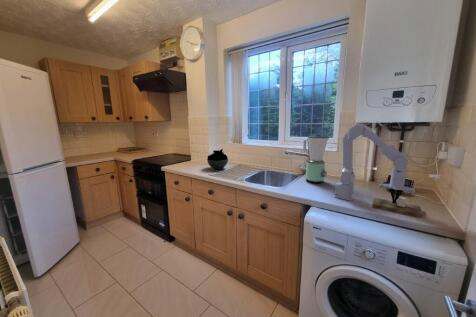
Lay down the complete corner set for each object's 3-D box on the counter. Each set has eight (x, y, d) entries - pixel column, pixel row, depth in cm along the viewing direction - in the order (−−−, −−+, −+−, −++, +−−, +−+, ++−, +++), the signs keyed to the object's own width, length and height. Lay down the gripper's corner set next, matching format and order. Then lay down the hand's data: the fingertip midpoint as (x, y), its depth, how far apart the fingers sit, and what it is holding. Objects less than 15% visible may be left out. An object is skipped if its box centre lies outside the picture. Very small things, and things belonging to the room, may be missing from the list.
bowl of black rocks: (212, 172, 178) (211, 152, 174) (204, 168, 195) (203, 149, 191) (231, 169, 187) (231, 150, 183) (223, 165, 204) (222, 147, 201)
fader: (397, 206, 102) (398, 199, 102) (397, 203, 106) (398, 196, 106) (404, 207, 101) (406, 201, 100) (404, 204, 104) (405, 198, 104)
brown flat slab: (372, 207, 107) (372, 203, 106) (373, 200, 115) (374, 197, 115) (422, 218, 95) (422, 214, 94) (419, 210, 103) (420, 206, 103)
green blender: (329, 181, 150) (333, 135, 143) (321, 186, 141) (325, 136, 134) (305, 176, 163) (308, 134, 157) (297, 180, 154) (299, 135, 147)
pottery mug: (401, 191, 132) (407, 183, 126) (400, 201, 126) (406, 192, 121) (380, 183, 137) (385, 175, 132) (378, 192, 132) (383, 184, 126)
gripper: (380, 177, 104) (376, 201, 106) (417, 182, 95) (412, 209, 98) (380, 174, 109) (377, 197, 112) (415, 179, 100) (411, 204, 103)
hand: (393, 202), depth 105 cm, fingers closed
